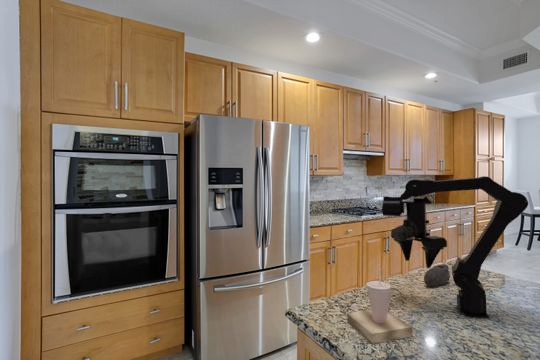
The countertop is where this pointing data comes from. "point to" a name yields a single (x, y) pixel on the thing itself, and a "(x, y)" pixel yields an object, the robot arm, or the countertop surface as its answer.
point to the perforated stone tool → (437, 275)
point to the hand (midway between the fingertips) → (417, 264)
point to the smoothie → (379, 299)
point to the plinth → (379, 327)
